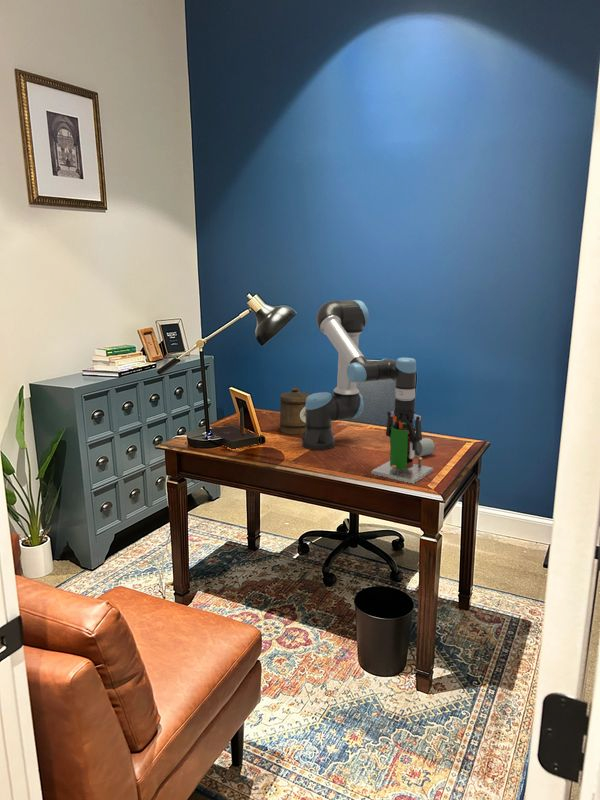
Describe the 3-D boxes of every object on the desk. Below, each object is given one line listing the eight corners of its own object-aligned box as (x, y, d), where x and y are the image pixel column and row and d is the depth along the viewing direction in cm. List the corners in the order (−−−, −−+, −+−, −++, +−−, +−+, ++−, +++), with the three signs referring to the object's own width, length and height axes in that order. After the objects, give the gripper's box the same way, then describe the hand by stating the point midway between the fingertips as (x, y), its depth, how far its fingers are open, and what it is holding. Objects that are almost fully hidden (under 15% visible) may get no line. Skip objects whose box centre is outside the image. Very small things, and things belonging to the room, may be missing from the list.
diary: (237, 433, 296) (237, 423, 295) (265, 445, 276) (265, 434, 275) (203, 439, 285) (203, 429, 284) (230, 452, 265) (230, 441, 264)
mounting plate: (371, 474, 236) (371, 461, 235) (392, 462, 249) (392, 450, 248) (413, 483, 225) (414, 471, 224) (432, 471, 239) (433, 459, 237)
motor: (415, 469, 232) (415, 419, 227) (391, 470, 232) (392, 419, 228) (410, 461, 242) (411, 412, 237) (388, 461, 242) (388, 413, 238)
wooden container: (309, 435, 290) (309, 390, 285) (278, 434, 291) (278, 389, 286) (311, 426, 304) (311, 383, 299) (281, 426, 305) (281, 383, 300)
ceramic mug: (436, 455, 258) (436, 438, 256) (421, 459, 253) (422, 441, 252) (419, 449, 267) (419, 433, 265) (404, 452, 262) (405, 435, 261)
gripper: (377, 397, 233) (375, 453, 239) (424, 404, 222) (422, 463, 227) (386, 393, 239) (385, 449, 244) (433, 400, 228) (430, 458, 233)
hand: (402, 455), depth 236 cm, fingers closed on motor, 7 cm apart
